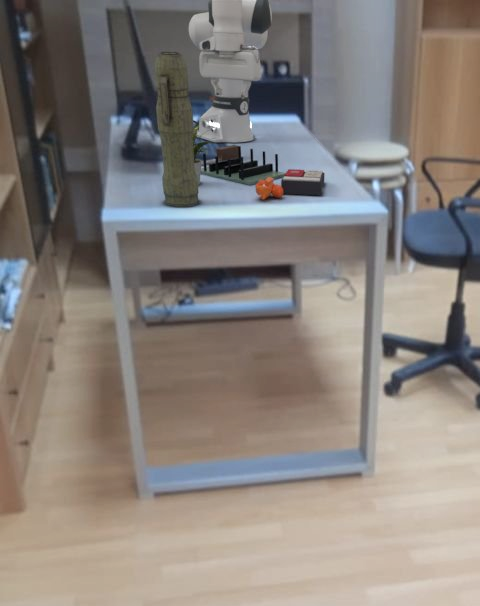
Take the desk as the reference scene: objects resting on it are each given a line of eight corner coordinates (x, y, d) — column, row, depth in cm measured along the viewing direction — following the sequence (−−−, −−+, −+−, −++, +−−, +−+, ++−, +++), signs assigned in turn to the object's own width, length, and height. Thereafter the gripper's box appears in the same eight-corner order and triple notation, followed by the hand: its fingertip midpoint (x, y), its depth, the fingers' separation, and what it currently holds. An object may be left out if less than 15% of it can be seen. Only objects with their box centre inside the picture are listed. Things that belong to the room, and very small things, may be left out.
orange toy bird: (264, 169, 213) (255, 180, 203) (289, 180, 214) (282, 191, 204) (258, 187, 216) (249, 198, 206) (284, 197, 217) (276, 209, 207)
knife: (234, 156, 252) (234, 144, 250) (239, 157, 251) (239, 145, 249) (196, 164, 241) (195, 152, 239) (201, 165, 239) (200, 153, 237)
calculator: (324, 169, 225) (321, 179, 212) (324, 185, 228) (320, 195, 214) (286, 167, 225) (280, 177, 212) (286, 183, 228) (281, 193, 214)
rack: (195, 172, 232) (194, 151, 229) (233, 163, 243) (232, 144, 240) (250, 185, 222) (249, 164, 219) (286, 175, 233) (286, 155, 230)
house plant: (171, 192, 211) (165, 128, 203) (154, 181, 221) (147, 119, 212) (220, 187, 218) (216, 125, 209) (201, 176, 228) (197, 116, 219)
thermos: (204, 197, 208) (194, 51, 190) (192, 209, 198) (181, 56, 180) (171, 195, 209) (158, 49, 190) (158, 207, 199) (143, 54, 180)
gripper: (264, 45, 227) (266, 97, 233) (207, 43, 234) (210, 93, 241) (252, 45, 222) (254, 99, 228) (194, 43, 230) (198, 94, 236)
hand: (231, 96), depth 235 cm, fingers open, 8 cm apart
